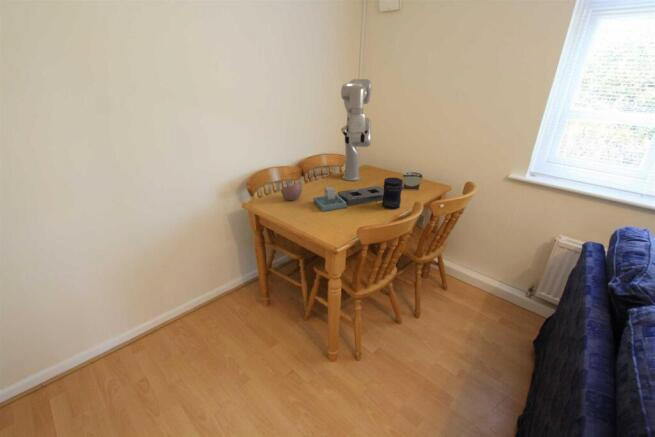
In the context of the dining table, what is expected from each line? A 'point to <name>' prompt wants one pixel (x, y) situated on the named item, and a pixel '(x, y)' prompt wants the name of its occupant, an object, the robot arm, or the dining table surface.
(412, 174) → the food container
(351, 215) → the dining table surface
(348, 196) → the grey block with hole
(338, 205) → the parts tray
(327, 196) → the steel block
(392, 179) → the storage jar
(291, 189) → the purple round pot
